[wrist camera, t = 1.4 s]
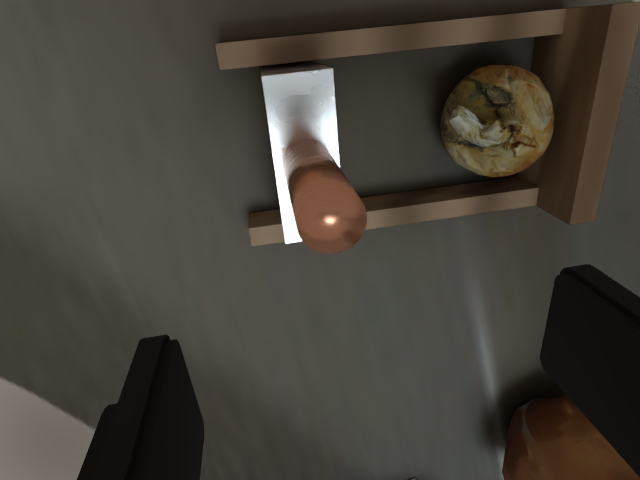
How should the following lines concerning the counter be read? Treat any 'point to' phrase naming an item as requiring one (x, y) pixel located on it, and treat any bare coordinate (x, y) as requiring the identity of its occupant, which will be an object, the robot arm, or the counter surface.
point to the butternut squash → (559, 445)
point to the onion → (497, 120)
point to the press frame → (548, 64)
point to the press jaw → (310, 159)
